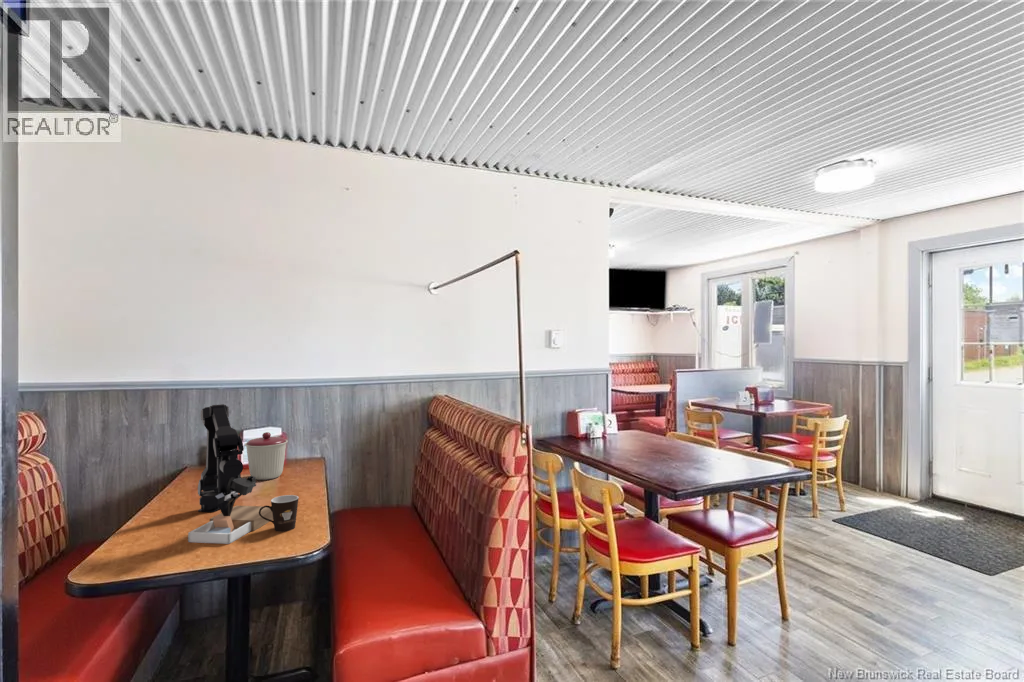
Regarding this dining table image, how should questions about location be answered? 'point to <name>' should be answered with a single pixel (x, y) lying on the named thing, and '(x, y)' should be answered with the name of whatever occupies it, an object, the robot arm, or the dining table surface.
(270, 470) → the canister
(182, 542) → the dining table surface
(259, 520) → the walnut board
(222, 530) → the slate tile
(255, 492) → the dining table surface
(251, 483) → the robot arm
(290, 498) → the coffee mug
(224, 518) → the terracotta tile
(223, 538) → the tray
